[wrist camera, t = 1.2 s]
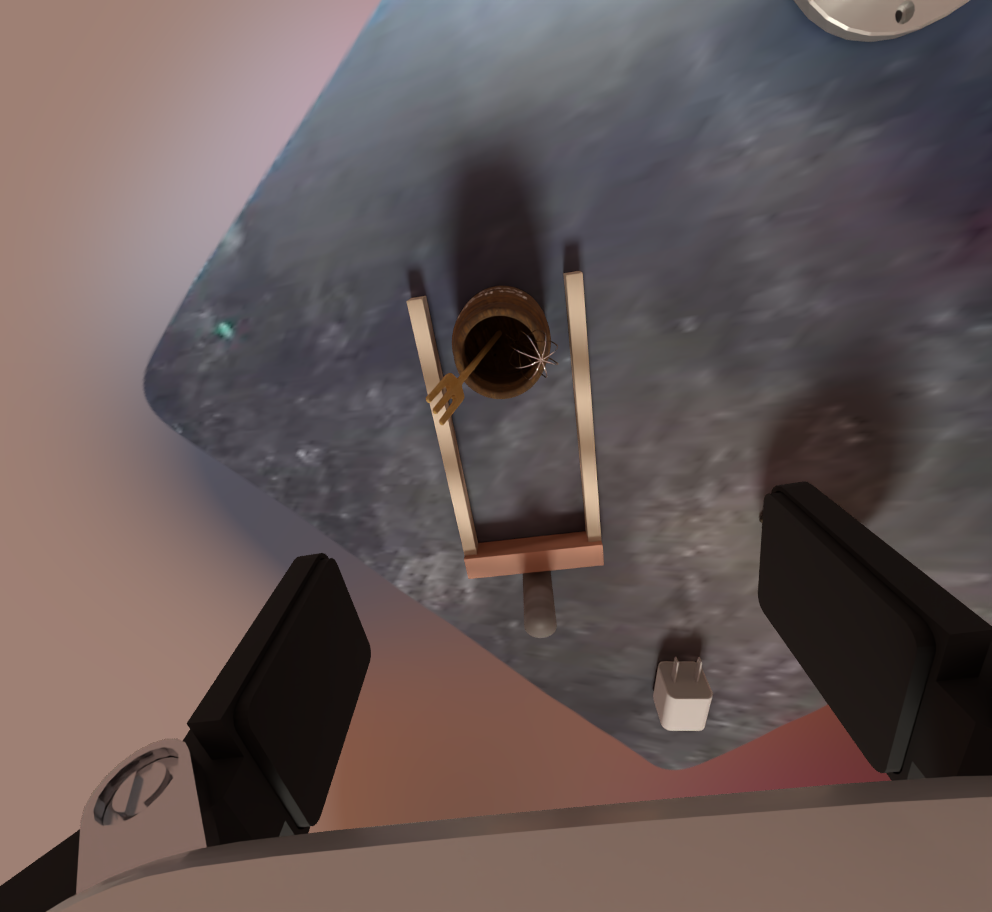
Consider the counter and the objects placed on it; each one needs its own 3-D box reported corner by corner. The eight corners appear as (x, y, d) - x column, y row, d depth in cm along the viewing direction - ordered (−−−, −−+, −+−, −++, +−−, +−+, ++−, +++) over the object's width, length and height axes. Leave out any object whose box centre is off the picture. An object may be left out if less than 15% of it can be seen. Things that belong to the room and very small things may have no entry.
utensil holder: (560, 350, 32) (586, 412, 21) (479, 388, 33) (463, 465, 22) (525, 266, 29) (532, 287, 19) (438, 311, 31) (399, 354, 20)
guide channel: (411, 298, 30) (389, 312, 25) (579, 270, 29) (594, 279, 24) (476, 589, 41) (471, 644, 36) (601, 577, 40) (615, 631, 35)
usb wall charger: (651, 691, 46) (662, 730, 43) (659, 641, 43) (672, 678, 40) (692, 691, 46) (707, 730, 43) (703, 641, 43) (720, 678, 40)
